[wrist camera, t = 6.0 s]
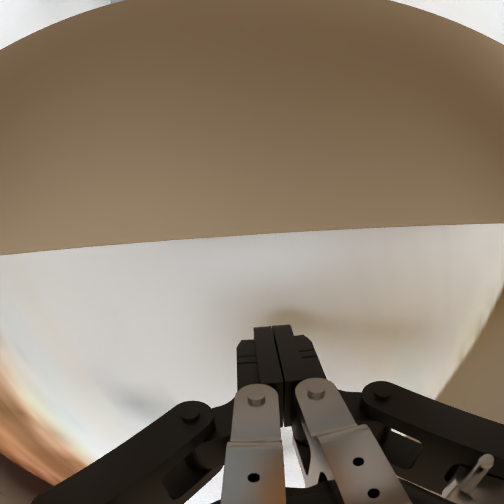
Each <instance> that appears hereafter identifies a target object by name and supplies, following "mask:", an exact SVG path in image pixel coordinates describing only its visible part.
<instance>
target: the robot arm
mask: <svg viewBox="0 0 504 504" xmlns="http://www.w3.org/2000/svg"><path fill="white" fill-rule="evenodd" d="M253 330H254V340H241V342H240V343H239V345H238V346H237V388H238V389H237V393H236V395H235V397H234V398H233V399H232V400H231V401H230V402H228V403H227V404H225V405H222V406H219V407H215V408H212V409H211V408H210V407H209V406H208V405H207V404H205V403H203V402H199V401H187V402H183V403H180V404H178V405H176V406H175V407H174V408H172V409H171V410H169V411H168V412H167V413H165V414H164V415H163V416H161V417H160V418H158V419H157V420H156V421H154V422H153V423H151V424H150V425H149V426H147V427H146V428H144V429H143V430H142V431H140V432H139V433H137V434H136V435H134V436H133V437H131V438H130V439H128V440H127V441H126V442H124V443H123V444H121V445H120V446H118V447H117V448H115V449H114V450H112V451H111V452H109V453H107V454H106V455H104V456H103V457H101V458H100V459H98V460H97V461H95V462H93V463H92V464H90V465H89V466H87V467H85V468H84V469H82V470H81V471H79V472H77V473H76V474H74V475H72V476H71V477H69V478H67V479H66V480H64V481H62V482H61V483H59V484H57V485H55V486H54V487H52V488H50V489H48V490H47V491H45V492H43V493H41V494H39V495H38V496H37V497H35V498H34V500H33V501H32V503H31V504H184V503H185V502H186V501H187V500H189V499H190V498H191V497H192V496H193V495H194V494H195V493H197V492H198V491H199V490H200V489H201V488H202V487H203V486H204V485H205V484H206V483H208V482H209V481H210V480H211V479H212V478H213V477H214V476H215V475H216V474H217V473H218V472H219V471H220V470H221V469H222V467H223V465H225V466H224V475H223V485H222V495H221V500H218V501H216V502H213V503H211V504H504V425H503V424H500V423H497V422H494V421H491V420H488V419H485V418H482V417H479V416H476V415H473V414H471V413H468V412H465V411H462V410H459V409H457V408H454V407H451V406H448V405H446V404H443V403H440V402H438V401H435V400H433V399H430V398H427V397H425V396H422V395H420V394H417V393H415V392H412V391H410V390H407V389H405V388H402V387H400V386H397V385H395V384H392V383H390V382H386V381H376V382H372V383H370V384H368V385H367V386H365V387H364V389H363V391H362V393H361V392H345V391H341V390H338V389H337V388H336V386H335V385H334V384H333V383H332V382H331V381H329V380H327V379H326V376H325V374H324V371H323V369H322V366H321V364H320V361H319V359H318V357H317V354H316V352H315V350H314V347H313V344H312V342H311V341H310V340H309V339H308V338H307V337H305V336H304V335H298V336H294V335H293V332H292V329H291V326H290V325H279V326H272V328H271V326H268V327H255V328H253ZM283 422H284V427H287V426H292V431H293V441H292V442H293V446H294V449H295V452H296V455H297V458H298V462H299V465H300V468H301V471H302V474H303V477H304V481H305V488H289V487H285V476H284V460H283V445H282V440H281V430H280V427H283ZM391 428H392V429H394V430H397V431H399V432H401V433H403V434H406V435H408V436H410V437H413V438H415V439H417V440H419V441H420V442H421V443H422V444H421V443H418V442H415V441H413V440H411V439H408V438H406V437H404V436H402V435H400V434H397V433H395V432H393V431H391ZM396 475H397V476H399V477H401V478H404V479H406V480H408V481H410V482H413V483H415V484H417V485H419V486H422V487H424V488H426V489H429V490H431V491H434V492H436V493H439V494H441V495H442V497H443V498H442V497H440V496H438V495H435V494H433V493H431V492H429V491H427V490H424V489H422V488H420V487H418V486H416V485H414V484H412V483H410V482H408V481H405V480H403V479H400V478H398V477H397V476H396Z"/></svg>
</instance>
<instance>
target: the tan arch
mask: <svg viewBox="0 0 504 504" xmlns="http://www.w3.org/2000/svg"><path fill="white" fill-rule="evenodd" d="M491 223H504V45H503V44H501V43H499V42H497V41H495V40H493V39H491V38H489V37H487V36H485V35H483V34H481V33H479V32H477V31H475V30H473V29H470V28H468V27H466V26H463V25H461V24H459V23H456V22H454V21H451V20H449V19H446V18H444V17H441V16H438V15H436V14H433V13H430V12H427V11H424V10H421V9H418V8H415V7H411V6H408V5H405V4H401V3H397V2H394V1H390V0H124V1H120V2H117V3H113V4H109V5H106V6H103V7H99V8H96V9H93V10H90V11H87V12H84V13H81V14H78V15H75V16H73V17H70V18H67V19H65V20H62V21H60V22H57V23H55V24H52V25H50V26H48V27H45V28H43V29H41V30H39V31H37V32H34V33H32V34H30V35H28V36H26V37H24V38H22V39H20V40H18V41H16V42H14V43H12V44H11V45H9V46H7V47H5V48H3V49H1V50H0V255H8V254H18V253H28V252H38V251H49V250H59V249H70V248H81V247H93V246H104V245H116V244H128V243H141V242H154V241H167V240H180V239H194V238H208V237H222V236H237V235H253V234H269V233H285V232H303V231H321V230H339V229H359V228H381V227H404V226H429V225H457V224H491Z"/></svg>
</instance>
